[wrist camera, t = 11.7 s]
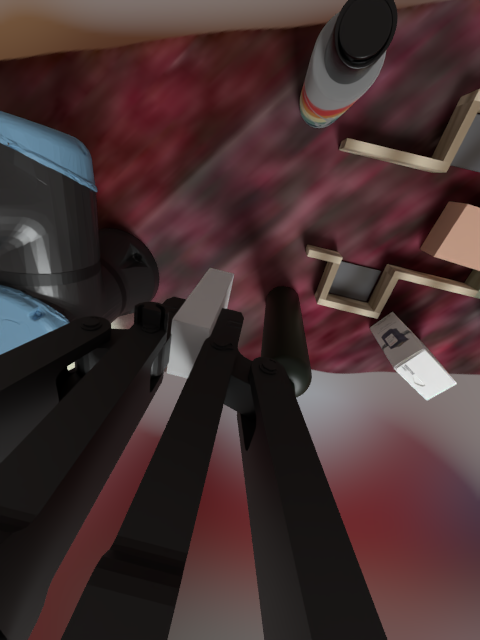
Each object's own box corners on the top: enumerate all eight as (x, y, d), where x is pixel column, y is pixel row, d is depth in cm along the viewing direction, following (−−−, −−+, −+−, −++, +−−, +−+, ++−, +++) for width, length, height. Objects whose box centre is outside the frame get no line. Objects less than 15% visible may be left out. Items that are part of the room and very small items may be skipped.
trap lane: (292, 289, 47) (293, 297, 44) (364, 73, 33) (372, 63, 30) (441, 326, 47) (453, 337, 44) (578, 125, 33) (609, 119, 29)
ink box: (421, 340, 48) (460, 385, 38) (396, 356, 50) (427, 402, 40) (392, 310, 46) (425, 348, 36) (367, 327, 48) (392, 369, 38)
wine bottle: (261, 309, 49) (242, 461, 23) (273, 281, 46) (268, 418, 20) (290, 320, 50) (304, 482, 23) (304, 293, 47) (338, 443, 21)
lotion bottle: (299, 132, 36) (319, 91, 19) (298, 77, 34) (321, -30, 16) (343, 125, 35) (408, 75, 18) (346, 68, 33) (425, -55, 15)
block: (419, 248, 41) (433, 256, 37) (448, 201, 38) (467, 203, 34) (461, 262, 42) (481, 271, 38) (494, 216, 38) (519, 220, 34)
